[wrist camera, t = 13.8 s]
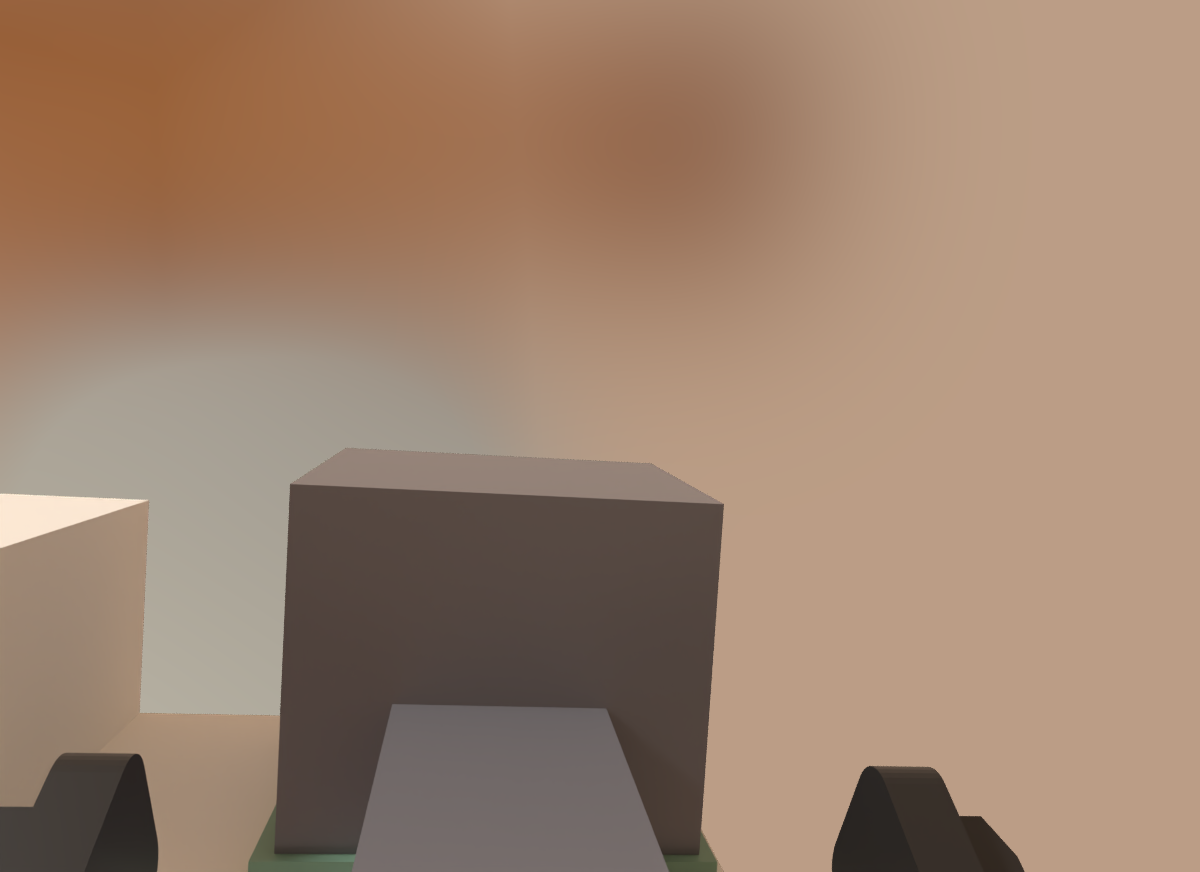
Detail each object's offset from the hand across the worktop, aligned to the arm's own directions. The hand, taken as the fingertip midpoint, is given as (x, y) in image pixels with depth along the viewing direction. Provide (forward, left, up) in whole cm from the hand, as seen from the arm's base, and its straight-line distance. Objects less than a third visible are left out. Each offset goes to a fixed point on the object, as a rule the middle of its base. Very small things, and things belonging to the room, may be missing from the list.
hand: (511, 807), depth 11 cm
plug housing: (0, +4, -3) cm, 5 cm away
